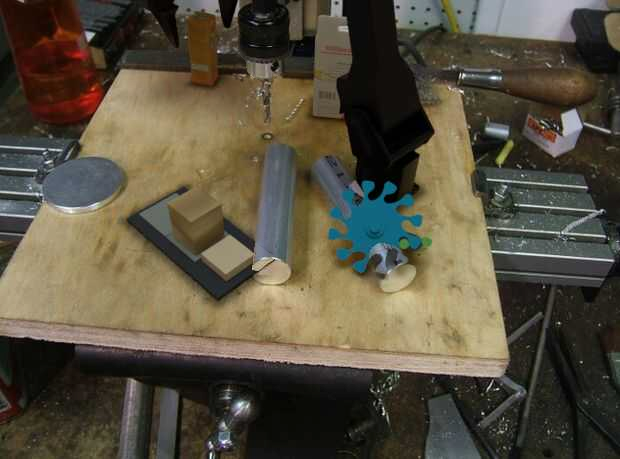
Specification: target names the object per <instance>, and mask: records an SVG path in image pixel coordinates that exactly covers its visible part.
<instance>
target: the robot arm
mask: <svg viewBox="0 0 620 459" xmlns="http://www.w3.org/2000/svg"><path fill="white" fill-rule="evenodd" d="M175 1H176V0H130V2H133V3H134V4H136V5H138V6H139V7H141V8H143V9H145V10H146V11H148V12H150V13H151V14H152V16H153V17H154V18H155V20H156V21H157V23H158V24H159V26H160V28H161V30H162V31H163V33H164V35H165V36H166V38H167V39H168V41H169V42H170V44H171V46H172V47H174V49H179V47H180V38H179V30H178V23H177V18H176V13H177V12H178V10H179V8H180V5H178V4H176V3H175ZM217 1H218V8H219V14H220V17H221V23H222V26H223V27H224V28H225V29H230V28H231V26H232V22H233V19H234V16H235V13H236V10H237V5H238V2H239V0H217ZM343 2H344V11H345V17H347V24H348V25H347V26H348V32H349V39H350V46H351V53H352V63H351V67H350V70H349V72H348V73H346V74H344V75H342V76H340V77H338V78H337V81H336V88H337V92H338V95H339V100H340V110H339V113H340V114H343V113H344V119H343V120H344V122H345V123H344V124H345V126H346V129H347V134H348V140H349V141H348V142H349V145H350V151H351V155H352V156H353V157H354V158H356V163H355V170H354V177H355V178H356V179H355V180H356V181H357V183H358V184H359V186H360V187H361V189H362V190H363V188H362V183H363V181H372V182H374V185H375V186H374V189H373V190H372V191H371V192H370V193H369V194H368V199H369V200H371V201H374V200H376V199H377V198H378V197H379V196H380V195H381V194H382V192H383V190H384V185H385V184H386V182H388V181H389V182H391V183H392V184H394V185H395V186H396V187H397V189H396V191H395V192H394V193H393V194H388V195H386V196H385V197H384V201H385V203H387V204H391V203H395V202H398V201H400V200H401V199H402V198H403V197H404V196H405V195H406V194H410V195H411V196H412V197H413V195H415V194H416V193H418V192H419V191H420V184H418V183H416V182H415V181H416V176H417V171H418V166H419V163H420V158H421V154H420V153H418V152H417V150H419V148H421V147H423V146H424V145H426V144H428V143H429V142H430V141H431V139H432V138H433V137H434V135H435V133H436V131H435V128H434V126H433V124H432V122H431V120H430V118H429V116H428V115H427V112H426V110H425V109H424V106H423V105H422V103H421V100H420V95H419V90H418V86H417V81H416V77H415V73H414V71H413V69H412V68H411V67H410V65H409V64H408V62H407V61H406V60H405V58H404V57H403V55H402V54H401V52H400V49H399V40H398V30H397V21H396V19H397V18H396V9H395V8H396V7H395V0H343ZM363 192H364V191H363ZM398 207H399V206H397V208H398Z"/></svg>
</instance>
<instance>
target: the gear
mask: <svg viewBox="0 0 620 459" xmlns="http://www.w3.org/2000/svg"><path fill="white" fill-rule="evenodd" d="M374 186H375V185H374V182H372V181H363V183H362V188H363V191H364V198H362V201H361V203H360V204H359V205H355V204H354V203H353V201H354V198H355V193H354V191H353V190H352V189H346V190H344V191H342V192H341V197H342V199H343V200H344V201H346V203H347V204H348V205H349V208H350V216H349V217H347V218H345V217H344V216H343V212H342V209H341V208H340V207H339V206H338V205H334V206H333V208H331V209H330V212H329V213H328V215H329V216H330V218H333V219H335V220H336V219H337V220H340V221H341V222H342V223H343V224H344V225H345V226H346V227H347V232H346V233H344V234H343V233H341V232H340V231H339V229H338V228H336V227H330V228H329V229H328V234H327V235H328V240H330V241H335V240H338V239H345V240H348V241H350V242H352V244H353V246H352V248H350V249H347V248H345V247H339V248H337V249H336V255H337V257H338V259H339V261H345V260H346V259H347V258H348V257H349V256H350V255H351V254H354V253H356V252H363V253H364V254H365V258H364V259H362V260H361V259H360V260H357V261H355V262H354V263H353V265H352V267H353V269H354V270H355V271H357V272H358V273H360V274H363V273H364V272H365V271H366V269H367V264H368V262H369V260H370V259H369V253H370V250H371V249H372V247H374V246H375V245H376V244H378V243H385V244H389V245H393V246H395V247H397V248H398V249H400V250H401V249H403V250H406V249H407V250H411V251H418V250H420V249H421V248H422V247H424V248H429V247H431V246H432V244H433V240H432V238H431V237H429V236H424V237H422V238H421V237H420V236H419V235H417V234H414V233H411V232H409V231H407V230H405V229H404V227H403V223H404V222H405V221H407V222H409V223H410V224H411V225H412V226H413V227H415V228H421V226H422V224H423V215H421V214H419V213H417V214H413V215H403V214H400V213H398V211H397V208H398V207H399V206H404V207H406V208H410V207H412V206H414V204H415V201H414V198H413V195H412V196H411V195H410V194H406V195H405V196H404V197H403V198H402V199H401V200H400V201H398V202H395V203H391V204H387V203H385V201H384V197H385V196H386V195H388V194H393V193H394V192H395V191H396V189H397V187H396V186H395V185H394V184H392V183H391V182H389V181H388V182H386V184H385V185H384V190H383V192H382V194H381V195H380V196H379V197H378V198H377V199H376V200H374V201H371V200H369V199H368V194H369V193H370V192H371V191H372V190H373V189H374ZM397 206H398V207H397ZM400 247H401V248H400ZM401 251H402V250H401ZM375 273H376V274H378V273H377V272H376V271H375Z"/></svg>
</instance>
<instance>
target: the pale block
mask: <svg viewBox="0 0 620 459" xmlns="http://www.w3.org/2000/svg"><path fill="white" fill-rule="evenodd" d="M188 190H189V191H187V192H186V193H184V194H182V195H180V196H179V197H177V198H175V199H173V200H172V201H170V202H168V203H167V205H168V211H169V216H170V221H171V226H172V231H173V236H174V237H175V238H176V239H177V240H178V241H180V242H181V243H182V244H183V245H184V246H185V247H187V248H188V249H189V250H190V251H191V252H193V253H194V254H195V255H198V254H199V253H201V252H202V251H204V250H205V249H207V248H208V247H210V246H211V245H213V244H215V243H216V242H218V241H219V240H221V239H222V238H224V237H225V235H224V225H223V217H224V215H223V206H222V203H221V201H219V200H217V199H216V198H215V197H213V196H212V195H211V194H209V193H208V192H207V191H205V190H204V189H203V188H202V187H200V186H198V185H196V186H195V187H193V188H191V189H188Z"/></svg>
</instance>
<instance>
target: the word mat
mask: <svg viewBox="0 0 620 459" xmlns="http://www.w3.org/2000/svg"><path fill="white" fill-rule="evenodd" d="M189 190H190V189H188V188H186V187H185V186H181V187H180V188H179V189H176V190H175V191H173V192H172V193H169V194H168V195H165V196H164V197H162V198H161V199H159V200H157V201H156V202H153V203H151V204H150V205H148V206H146V207H144V208H142V209H141V210H139V211H138V212H135V213H134V214H132V215H130V216H128V217H126V221H127V222H128V223H129V224H130V225H131V226H132V227H134V228H135V230H137V231H138V232H139V233H140V234H141V235H142V236H144V237H145V238H146V239H147V240H148V241H150V243H152V244H153V245H154V246H155V247H156V248H157V249H159V251H161V252H162V253H163V254H164V255H166V256H167V257H168V258H169V259H170V260H171V261H172V262H173V263H175V264H176V265H177V266H178V267H179V268H180V269H181V270H183V272H185V273H186V274H187V275H188V276H189V277H190V278H191V279H193V280H194V281H195V282H196V283H197V284H198V285H200V286H201V287H202V288H203V289H204V290H205V291H206V292H208V293H209V294H210V295H211V296H212V297H213V298H214V299H216V300H217V301H219V300H221V299H222V298H223V297H225V296H226V295H228V294H229V293H230V292H232V291H233V290H235V289H237V287H239V286H241V285H242V284H243V283H245V282H246V281H247V280H249V279H250V278H252V277H253V276H254V275H256V274H257V273H259V271H255V270H252V265H253V256H254V247H255V242H256V240H254V239H253V238H252V237H250V236H249V235H248V234H246V233H245V232H243V231H242V230H241V229H240V228H238V227H237V226H236V225H234V224H233V223H232V222H231V221H229V220H228V219H227V218H226V217H224V216H223V225H224V235H225V237H224V238H222V239H221V240H219V241H218V242H216V243H215V244H213V245H211V246H210V247H208V248H207V249H205V250H204V251H202V252H201V253H199V254H198V255H195V254H194V253H193V252H191V251H190V250H189V249H188V248H187V247H185V246H184V245H183V244H182V243H181V242H180V241H178V240H177V239H176V238H175V237H174V236H173V231H172V226H171V221H170V216H169V211H168V205H167V203H168V202H170V201H172V200H173V199H175V198H177V197H179V196H180V195H182V194H184V193H186V192H187V191H189Z"/></svg>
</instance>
